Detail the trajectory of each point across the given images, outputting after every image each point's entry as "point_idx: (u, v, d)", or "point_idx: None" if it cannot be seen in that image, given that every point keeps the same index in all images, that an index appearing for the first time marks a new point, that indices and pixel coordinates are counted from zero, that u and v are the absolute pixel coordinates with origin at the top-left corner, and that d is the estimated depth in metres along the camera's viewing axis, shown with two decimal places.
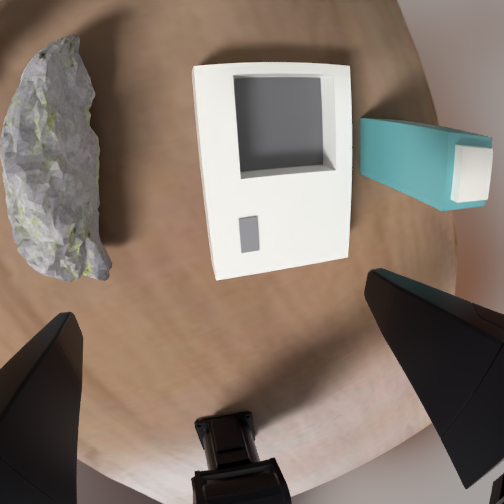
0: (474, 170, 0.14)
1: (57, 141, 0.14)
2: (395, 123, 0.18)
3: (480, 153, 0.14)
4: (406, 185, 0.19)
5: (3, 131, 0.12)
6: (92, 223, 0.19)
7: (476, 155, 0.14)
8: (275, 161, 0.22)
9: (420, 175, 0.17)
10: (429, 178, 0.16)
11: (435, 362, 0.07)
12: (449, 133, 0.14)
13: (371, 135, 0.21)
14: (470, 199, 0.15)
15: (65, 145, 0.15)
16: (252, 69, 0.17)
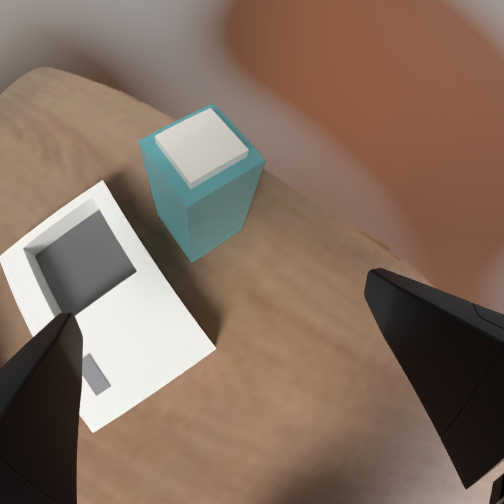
0: (192, 141, 0.14)
1: None
2: (151, 188, 0.19)
3: (189, 123, 0.14)
4: (183, 227, 0.17)
5: None
6: None
7: (185, 128, 0.14)
8: None
9: (172, 203, 0.16)
10: (170, 195, 0.15)
11: (435, 362, 0.07)
12: (140, 141, 0.15)
13: (164, 220, 0.22)
14: (212, 167, 0.14)
15: None
16: (33, 235, 0.19)
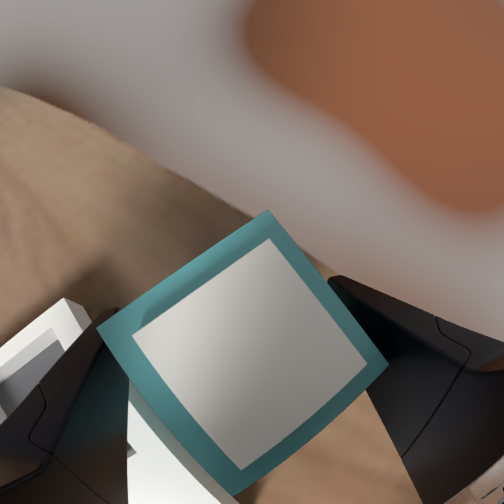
0: (234, 354, 0.06)
1: None
2: None
3: (220, 294, 0.06)
4: None
5: None
6: None
7: (210, 312, 0.06)
8: None
9: None
10: None
11: (392, 379, 0.07)
12: (101, 328, 0.06)
13: None
14: (289, 426, 0.05)
15: None
16: None
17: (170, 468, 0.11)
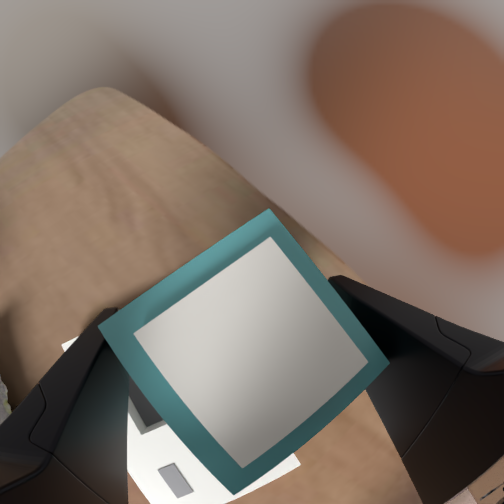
0: (235, 352, 0.06)
1: None
2: None
3: (222, 292, 0.06)
4: None
5: None
6: None
7: (211, 310, 0.06)
8: None
9: None
10: None
11: (392, 379, 0.07)
12: (103, 326, 0.06)
13: None
14: (291, 424, 0.05)
15: None
16: None
17: None
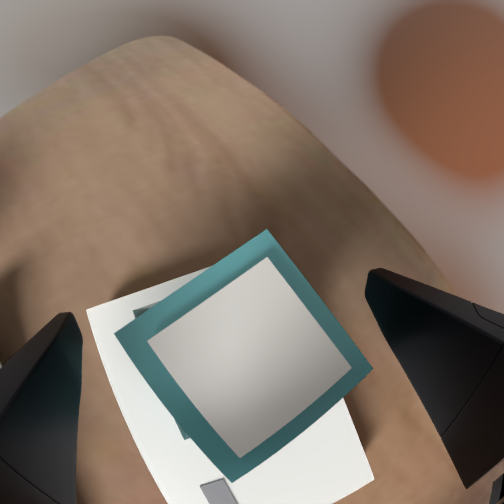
0: (235, 357, 0.06)
1: None
2: None
3: (224, 305, 0.07)
4: None
5: None
6: None
7: (215, 321, 0.07)
8: None
9: None
10: None
11: (436, 362, 0.07)
12: (118, 333, 0.07)
13: None
14: (282, 420, 0.06)
15: None
16: (153, 296, 0.14)
17: (335, 405, 0.14)
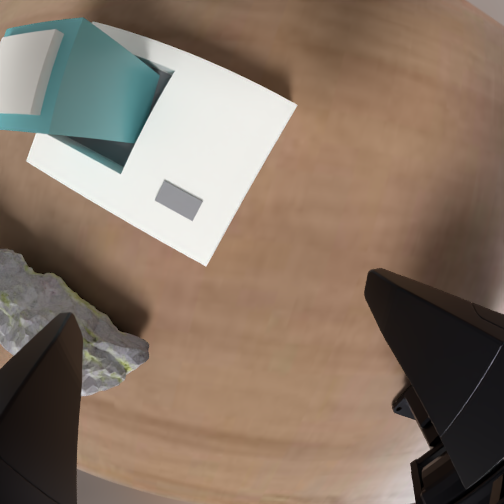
0: (7, 79, 0.08)
1: (17, 305, 0.17)
2: None
3: None
4: None
5: None
6: (98, 328, 0.19)
7: None
8: None
9: None
10: None
11: (435, 362, 0.07)
12: None
13: None
14: (36, 79, 0.08)
15: (25, 301, 0.17)
16: None
17: (202, 68, 0.15)
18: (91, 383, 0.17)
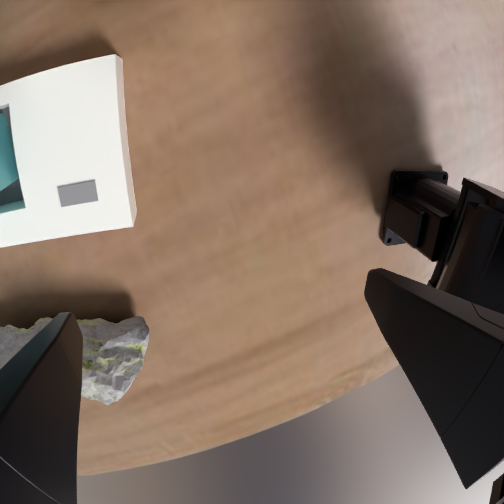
0: None
1: None
2: None
3: None
4: None
5: None
6: (98, 334, 0.21)
7: None
8: None
9: None
10: None
11: (435, 362, 0.07)
12: None
13: None
14: None
15: None
16: None
17: (27, 85, 0.12)
18: (121, 380, 0.20)
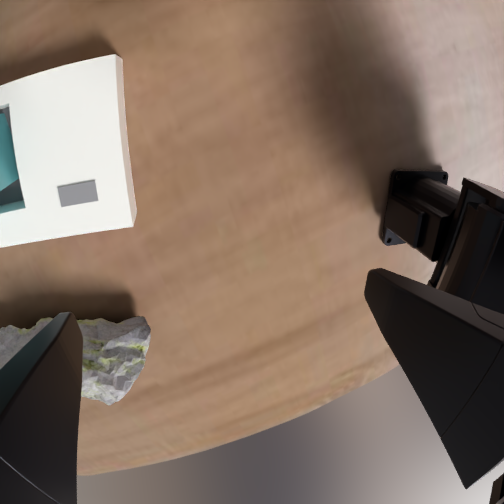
0: None
1: None
2: None
3: None
4: None
5: None
6: (100, 334, 0.21)
7: None
8: None
9: None
10: None
11: (435, 362, 0.07)
12: None
13: None
14: None
15: None
16: None
17: (27, 85, 0.12)
18: (123, 380, 0.20)
